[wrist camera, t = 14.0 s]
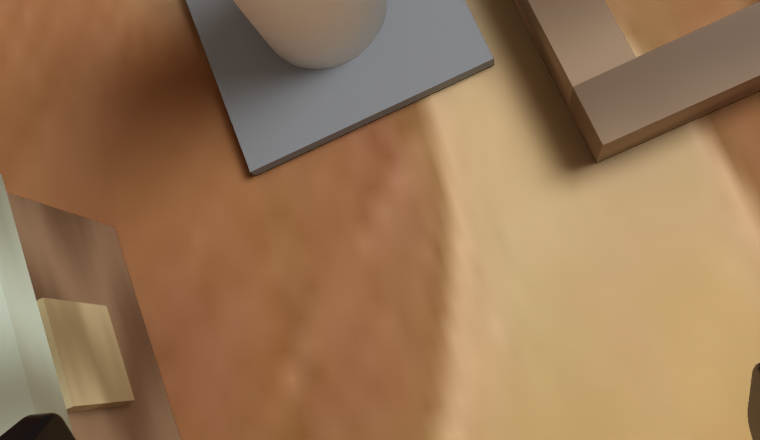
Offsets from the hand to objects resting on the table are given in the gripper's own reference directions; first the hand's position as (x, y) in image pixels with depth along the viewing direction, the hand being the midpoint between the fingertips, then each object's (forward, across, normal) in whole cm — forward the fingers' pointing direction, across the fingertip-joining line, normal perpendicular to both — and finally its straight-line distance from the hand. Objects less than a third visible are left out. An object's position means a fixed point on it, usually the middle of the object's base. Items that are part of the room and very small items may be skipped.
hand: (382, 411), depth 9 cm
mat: (+19, +4, 0) cm, 19 cm away
